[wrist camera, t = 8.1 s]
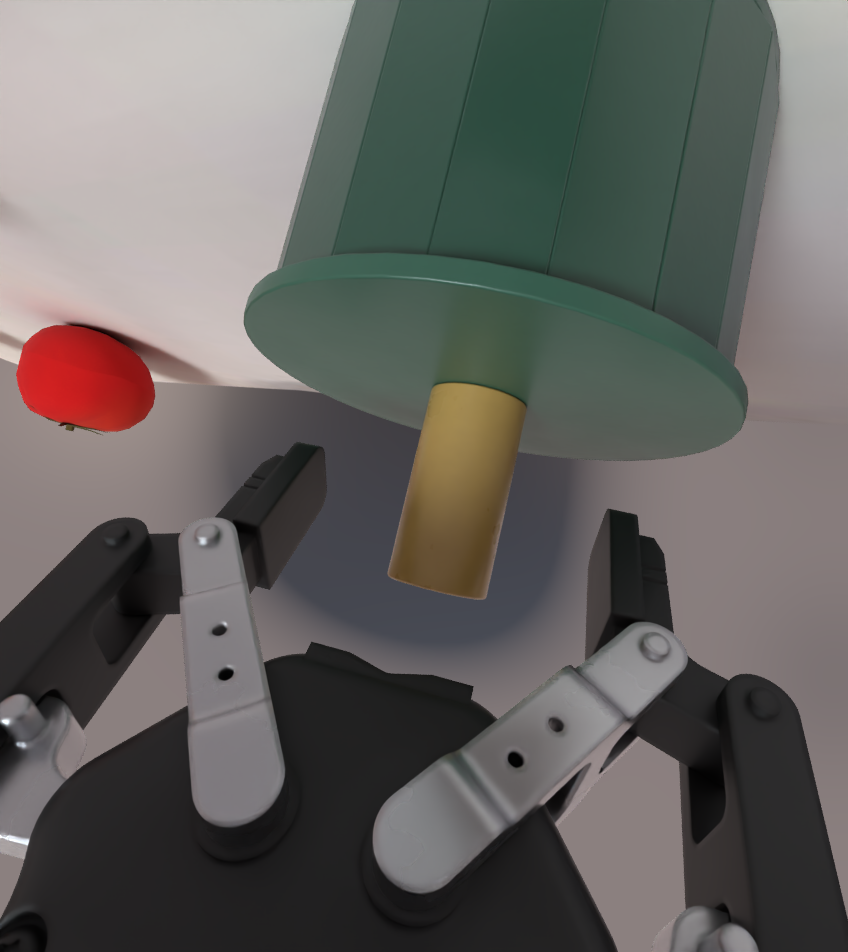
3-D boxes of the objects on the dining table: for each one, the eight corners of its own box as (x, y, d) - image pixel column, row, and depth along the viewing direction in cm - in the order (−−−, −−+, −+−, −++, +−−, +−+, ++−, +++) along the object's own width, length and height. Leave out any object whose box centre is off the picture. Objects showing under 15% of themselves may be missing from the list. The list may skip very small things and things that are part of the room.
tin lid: (696, 138, 7) (590, 692, 6) (773, 444, 17) (739, 655, 16) (153, 268, 15) (80, 507, 14) (432, 421, 25) (399, 562, 24)
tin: (755, -308, 8) (651, 212, 7) (791, 209, 18) (750, 457, 17) (254, 19, 16) (171, 295, 15) (474, 258, 26) (433, 432, 25)
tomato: (6, 294, 50) (-31, 403, 49) (145, 332, 53) (113, 438, 51) (70, 339, 64) (42, 426, 62) (180, 369, 66) (154, 453, 64)
